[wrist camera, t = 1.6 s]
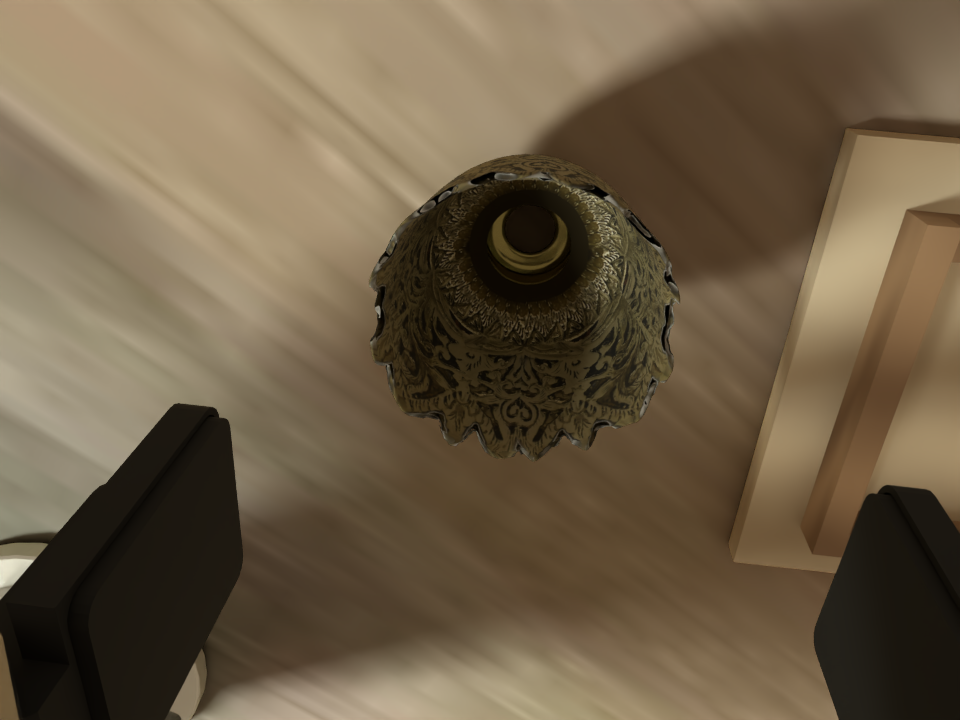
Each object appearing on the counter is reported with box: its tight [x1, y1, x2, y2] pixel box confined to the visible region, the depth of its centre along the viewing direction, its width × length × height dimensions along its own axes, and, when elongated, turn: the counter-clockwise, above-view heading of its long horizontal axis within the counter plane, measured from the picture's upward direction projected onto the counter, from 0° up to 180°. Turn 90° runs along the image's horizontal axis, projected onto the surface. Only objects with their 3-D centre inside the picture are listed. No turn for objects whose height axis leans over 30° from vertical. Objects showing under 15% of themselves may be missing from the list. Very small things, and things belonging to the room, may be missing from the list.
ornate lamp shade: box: [369, 154, 680, 462], centre depth 22 cm, size 8×7×8 cm
